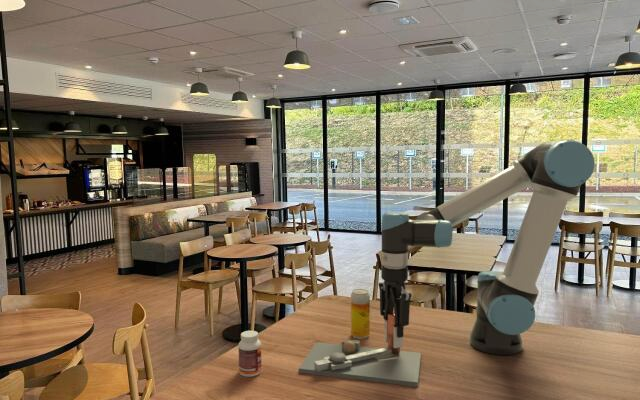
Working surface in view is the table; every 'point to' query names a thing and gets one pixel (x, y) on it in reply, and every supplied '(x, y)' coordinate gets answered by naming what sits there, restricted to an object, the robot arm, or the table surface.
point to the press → (365, 364)
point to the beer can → (360, 313)
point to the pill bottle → (249, 354)
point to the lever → (349, 359)
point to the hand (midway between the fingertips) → (393, 344)
